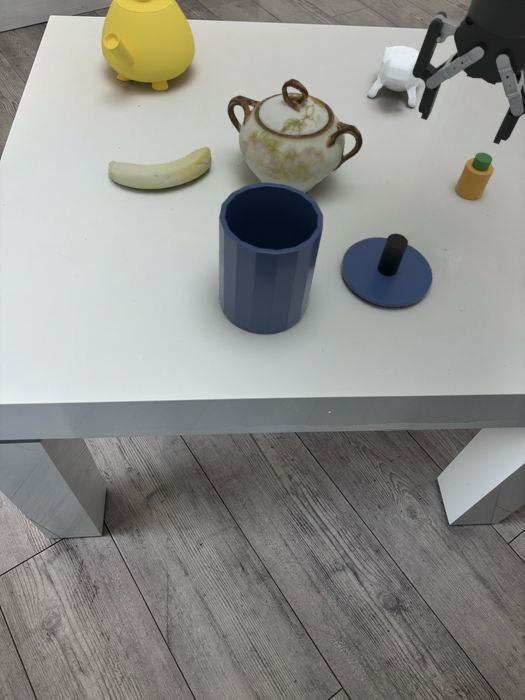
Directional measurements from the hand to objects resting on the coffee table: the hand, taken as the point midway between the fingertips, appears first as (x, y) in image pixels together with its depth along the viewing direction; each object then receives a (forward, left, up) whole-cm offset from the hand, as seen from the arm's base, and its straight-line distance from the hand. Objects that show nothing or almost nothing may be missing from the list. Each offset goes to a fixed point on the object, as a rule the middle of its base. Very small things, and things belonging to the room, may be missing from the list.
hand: (461, 128), depth 63 cm
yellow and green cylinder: (-4, -13, -17) cm, 22 cm away
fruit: (+37, +8, -17) cm, 42 cm away
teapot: (+54, -12, -17) cm, 58 cm away
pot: (+13, +22, -17) cm, 30 cm away
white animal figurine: (+15, -32, -17) cm, 40 cm away
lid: (+1, +10, -16) cm, 19 cm away
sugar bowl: (+21, -1, -17) cm, 27 cm away
